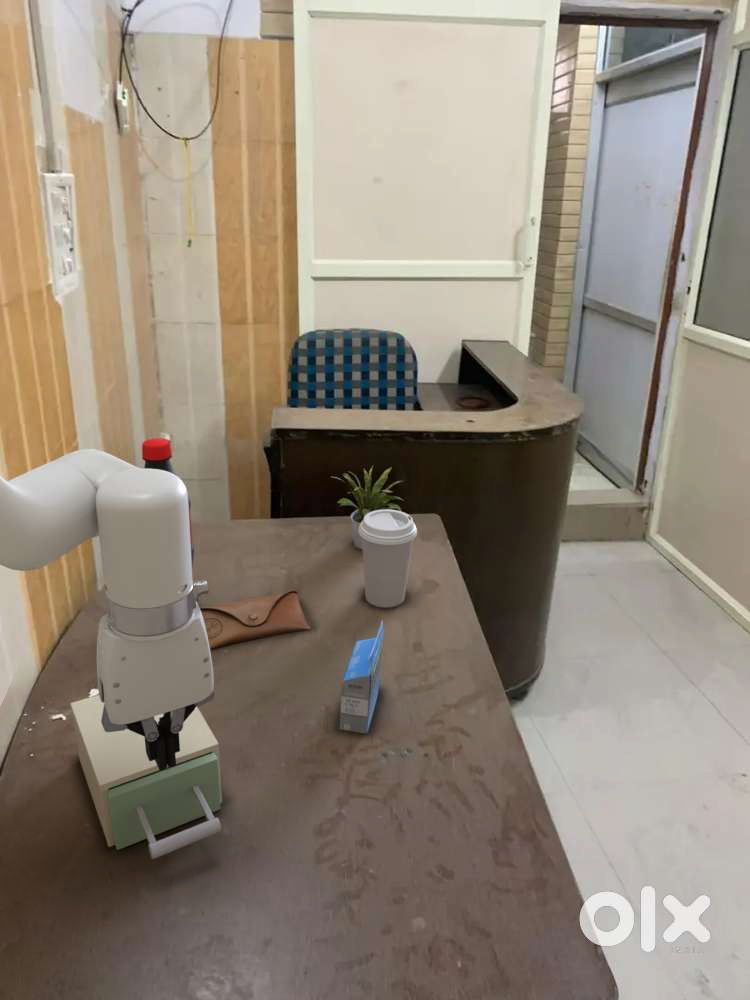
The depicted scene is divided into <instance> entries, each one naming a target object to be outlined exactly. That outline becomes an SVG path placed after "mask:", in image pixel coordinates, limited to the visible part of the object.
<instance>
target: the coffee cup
mask: <svg viewBox="0 0 750 1000" xmlns="http://www.w3.org/2000/svg"><path fill="white" fill-rule="evenodd" d="M413 520H414V519H413V518H412V516H411V515H410V514H408V513H406V512H404V511H402V510H401V511H400V510H398V509H397V510H396V509H393V510H389V509H384V510H376V511H372V512H370V513H368V514H366V515H365V517H364V519H363V521H362V522H361V524H360V526H359V529H358V533H359V535H360V536H361V538H362V549H361V551H362V564H363V565H362V566H363V581H364V594H365V596H364V597H365V600H366V601H367V602H368V603H369V604H370V605H372V606H374V607H378V608H394V607H397V606H399V605H401V604H402V603H403V602H404V601H405V596H406V589H407V584H408V578H409V577H408V576H409V569H410V563H411V557H412V556H411V555H412V551H413V545H414V539H415V538H416V537H417V536H418V530H417V527H416V524H415V522H414V521H413Z"/></svg>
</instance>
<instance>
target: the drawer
mask: <svg viewBox="0 0 750 1000" xmlns="http://www.w3.org/2000/svg"><path fill="white" fill-rule="evenodd" d="M107 796H108V803H109V810H110V816H111V823H112V830H113V837H114V843H115V845H114V846H115V848H116V850H117V851H119V850H121V849H124V848H126V847H129V846H131V845H134V844H136V843H139V842H141V841H144V840H146V841H147V842H148V851H149V855H150V858H151V860H155V859H157V858H159V857H162V856H164V855H167V854H170V853H173V852H174V851H177V850H179V849H182V848H184V847H187V846H188V845H191V844H193V843H196V842H199V841H201V840H203V839H206V838H209V837H210V836H213V835H215V834H218V833H221V831H222V825H221V821H220V819H219V818H218V817H215V816H214V814H213V813H214V812H217V811H220V810H221V809H222V807H221V803H220V790H219V776H218V761H217V757H216V756H215V754H214V753H210V754H208V755H205V756H204V755H201V756H198V757H195V758H193V759H190V760H187V761H184V762H181V763H179V764H176V766H174V767H171V768H168V769H166V770H163V771H160V772H157V773H155V774H152V775H149V776H146V777H143V778H141V779H138V780H135V781H133V780H131V781H128V782H125V783H123V784H120V785H117V786H114V787H111V788H109V789H108V790H107ZM202 817H205V819H206V821H204V822H202V823H199V824H197V825H194V826H192V827H189V828H187V829H183V830H181V831H180V832H177V833H174V834H172V835H170V836H167V837H164V838H162V839H159V840H156V838H155V836H156V835H157V836H158V835H159V834H162V833H164V832H166V831H169V830H172V829H174V828H177V827H179V826H182V825H184V824H187V823H189V822H192V821H195V820H197V819H199V818H202Z"/></svg>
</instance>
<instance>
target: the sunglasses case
mask: <svg viewBox="0 0 750 1000" xmlns="http://www.w3.org/2000/svg"><path fill="white" fill-rule="evenodd" d="M199 608H200V610H201V613H202V616H203V620H204V623H205V627H206V631H207V636H208V641H209V647H210V652H211V651H214V650H218V649H220V648H224V647H227V646H228V647H229V646H232V645H237V644H240V643H241V644H242V643H245V642H250V641H254V640H259V639H264V638H269V637H270V638H271V637H274V636H279V635H285V634H290V633H296V632H304V631H309V630H311V629H312V627H311V626H310V625H309V624H308V621H307V620H306V616H305V614H304V611H303V608H302V605H301V603H300V600H299V597H298V590H290V591H285V592H284V593H279V594H272V595H266V596H265V595H264V596H259V597H254V598H249V599H243V600H238V601H233V602H228V603H227V602H226V603H224V604H219V605H214V606H206V607H205V606H203V607H199Z"/></svg>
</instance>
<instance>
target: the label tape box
mask: <svg viewBox="0 0 750 1000" xmlns="http://www.w3.org/2000/svg"><path fill="white" fill-rule="evenodd" d="M383 638H384V621H383V620H381V622H380V626H379V629H378V633H377V635H376V637H372V638H367V639H361V640H357V641H356V642H355V644H354V646H353V649H352V651H351V655H350V659H349V661H348V664H347V667H346V669H345V673H344V675H343V679H342V681H341V695H340V712H339V713H340V715H339V730H340V731H348V732H354V733H360V734H368V731H369V729H370V725H371V721H372V719H373V715H374V710H375V707H376V704H377V699H378V695H379V688H380V677H381V667H382V666H381V665H382V652H383V651H382V650H383Z"/></svg>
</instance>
